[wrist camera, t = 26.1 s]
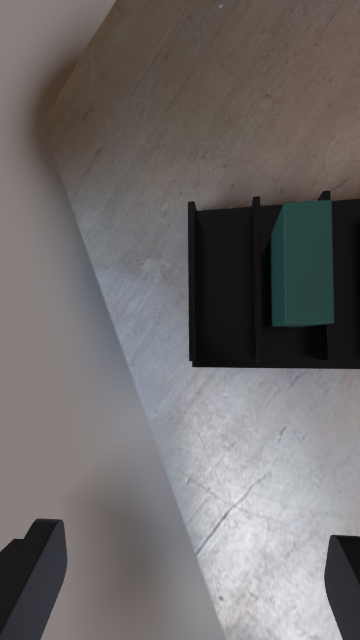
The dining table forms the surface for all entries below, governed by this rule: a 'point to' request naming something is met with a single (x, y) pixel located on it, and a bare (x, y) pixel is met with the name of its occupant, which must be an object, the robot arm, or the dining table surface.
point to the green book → (301, 266)
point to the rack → (265, 292)
